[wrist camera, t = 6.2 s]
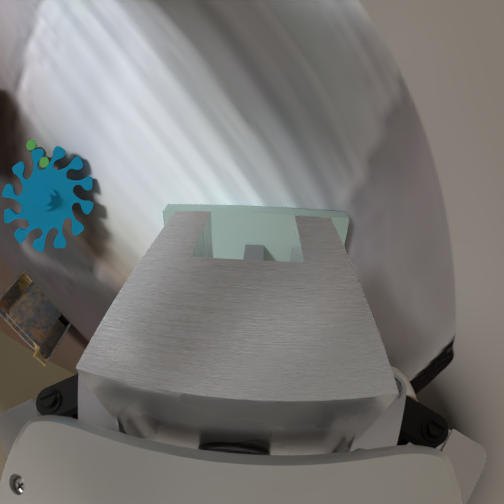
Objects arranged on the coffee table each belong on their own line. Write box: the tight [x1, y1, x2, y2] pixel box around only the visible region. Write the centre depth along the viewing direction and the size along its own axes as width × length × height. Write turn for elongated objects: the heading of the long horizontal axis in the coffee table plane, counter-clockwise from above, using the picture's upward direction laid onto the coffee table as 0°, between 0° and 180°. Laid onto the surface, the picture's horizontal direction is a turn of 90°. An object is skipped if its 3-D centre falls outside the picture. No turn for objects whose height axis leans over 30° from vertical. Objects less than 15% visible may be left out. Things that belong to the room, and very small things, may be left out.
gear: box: [2, 139, 94, 252], centre depth 21 cm, size 11×6×10 cm
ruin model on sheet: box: [0, 271, 72, 366], centre depth 29 cm, size 11×3×10 cm, turn 34°
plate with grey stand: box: [163, 204, 350, 262], centre depth 26 cm, size 18×16×8 cm
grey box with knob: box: [76, 211, 399, 455], centre depth 9 cm, size 7×6×8 cm
